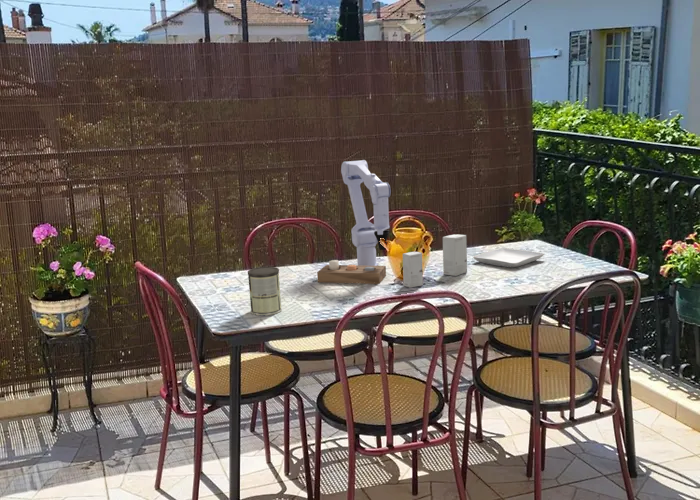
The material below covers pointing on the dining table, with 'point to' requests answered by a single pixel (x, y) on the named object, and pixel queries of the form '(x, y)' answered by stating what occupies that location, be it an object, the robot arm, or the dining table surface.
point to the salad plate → (508, 257)
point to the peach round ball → (351, 267)
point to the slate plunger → (369, 268)
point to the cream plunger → (334, 265)
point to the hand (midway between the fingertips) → (382, 249)
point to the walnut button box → (352, 275)
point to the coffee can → (264, 290)
